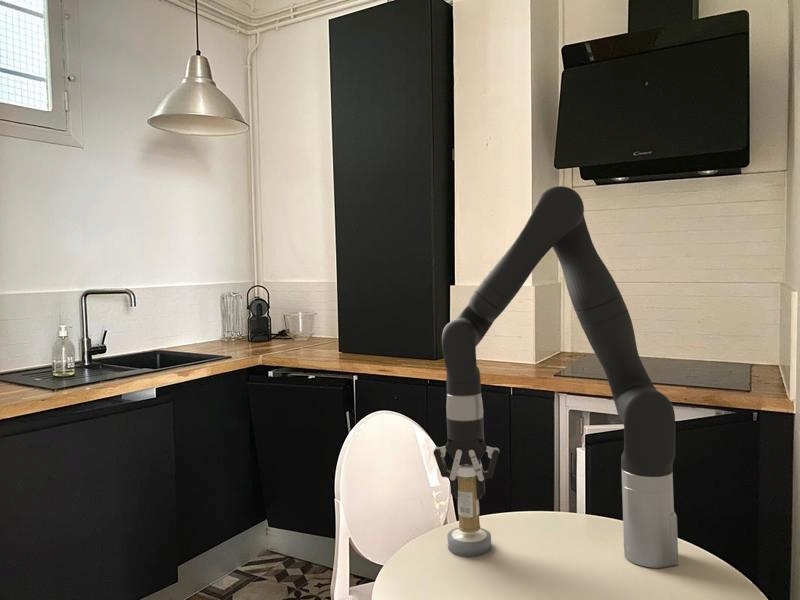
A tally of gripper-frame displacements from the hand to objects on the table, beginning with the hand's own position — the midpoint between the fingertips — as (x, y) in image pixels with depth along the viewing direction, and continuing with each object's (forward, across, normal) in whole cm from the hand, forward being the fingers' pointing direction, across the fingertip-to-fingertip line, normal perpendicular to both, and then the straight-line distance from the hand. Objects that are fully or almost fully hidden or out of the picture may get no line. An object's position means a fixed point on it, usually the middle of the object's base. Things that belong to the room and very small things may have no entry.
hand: (468, 496), depth 127 cm
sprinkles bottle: (+7, 0, 0) cm, 7 cm away
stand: (+10, 0, 0) cm, 10 cm away
